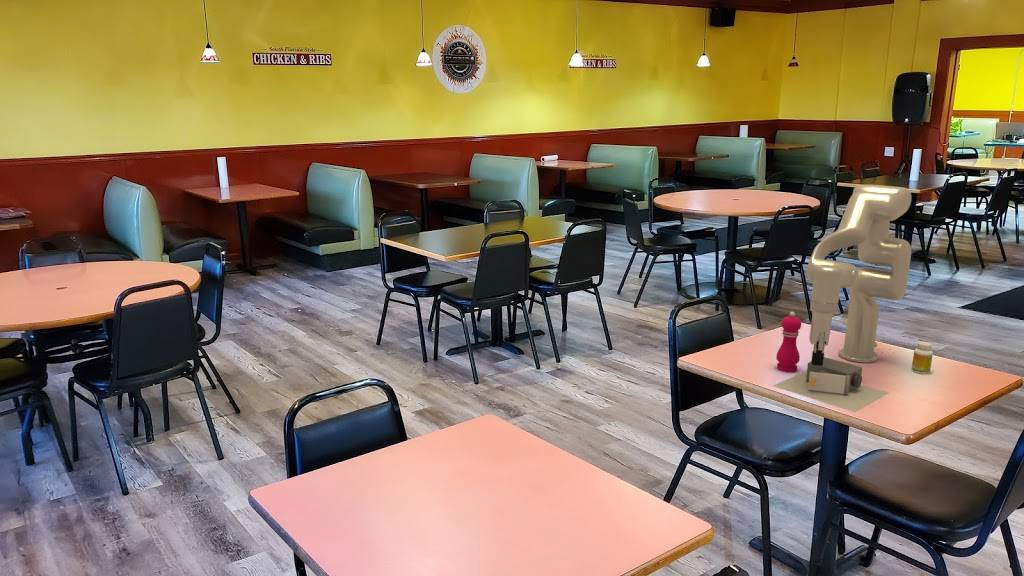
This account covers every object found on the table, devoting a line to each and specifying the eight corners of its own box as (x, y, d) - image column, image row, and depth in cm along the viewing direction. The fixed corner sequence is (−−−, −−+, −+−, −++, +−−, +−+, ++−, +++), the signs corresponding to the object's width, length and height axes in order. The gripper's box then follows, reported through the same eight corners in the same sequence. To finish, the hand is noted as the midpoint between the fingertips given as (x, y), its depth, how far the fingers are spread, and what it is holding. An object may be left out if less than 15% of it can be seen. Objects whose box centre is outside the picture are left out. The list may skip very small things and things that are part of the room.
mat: (808, 370, 250) (808, 369, 250) (888, 394, 231) (889, 392, 231) (772, 386, 236) (772, 385, 236) (854, 413, 217) (854, 411, 217)
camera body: (820, 375, 245) (822, 354, 243) (864, 388, 235) (867, 366, 233) (805, 382, 239) (807, 360, 237) (850, 395, 229) (853, 373, 227)
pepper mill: (801, 374, 247) (807, 315, 242) (779, 373, 247) (785, 314, 242) (793, 366, 254) (800, 308, 249) (772, 366, 254) (777, 308, 249)
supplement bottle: (925, 375, 247) (930, 347, 244) (908, 371, 250) (912, 343, 248) (932, 371, 250) (936, 343, 248) (915, 367, 254) (919, 339, 251)
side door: (808, 389, 233) (810, 370, 231) (847, 394, 229) (850, 375, 228) (808, 391, 231) (810, 373, 229) (848, 396, 227) (850, 378, 226)
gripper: (809, 299, 235) (802, 355, 240) (811, 311, 222) (804, 370, 226) (835, 301, 233) (828, 358, 237) (839, 313, 219) (832, 373, 224)
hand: (816, 364), depth 232 cm, fingers closed
